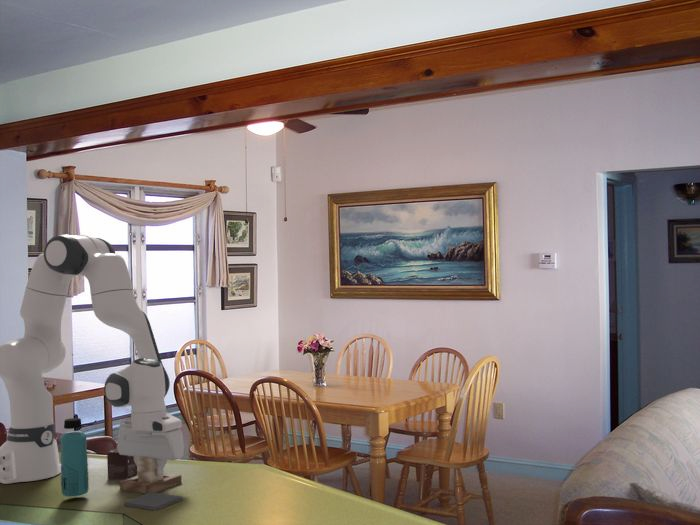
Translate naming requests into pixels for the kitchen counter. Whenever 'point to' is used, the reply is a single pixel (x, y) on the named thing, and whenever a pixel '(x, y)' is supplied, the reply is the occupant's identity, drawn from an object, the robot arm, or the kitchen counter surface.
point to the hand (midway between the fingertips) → (150, 474)
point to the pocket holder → (150, 484)
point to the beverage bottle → (74, 460)
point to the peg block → (147, 470)
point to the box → (120, 465)
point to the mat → (153, 501)
